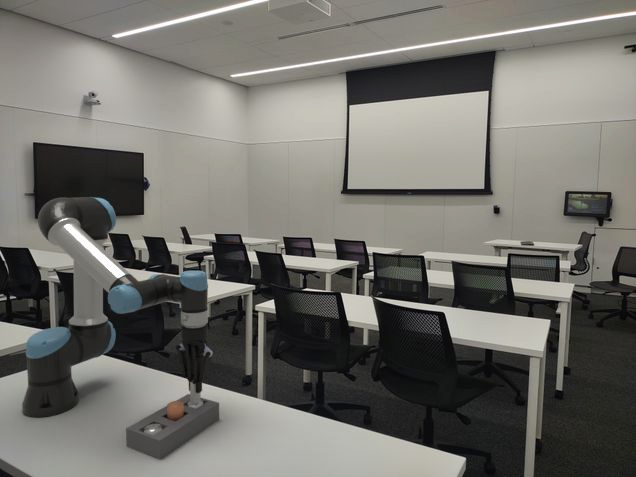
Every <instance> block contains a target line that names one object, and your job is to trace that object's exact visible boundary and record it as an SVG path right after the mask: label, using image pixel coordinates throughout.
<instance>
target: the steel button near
mask: <svg viewBox="0 0 636 477" xmlns="http://www.w3.org/2000/svg"><path fill="white" fill-rule="evenodd" d="M160 430H162V426H161V425H160V424H151V425H148V426H146V427H145V428H144V433H147V434H150V435H154V434H156V433H157V432H159V431H160Z"/></svg>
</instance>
